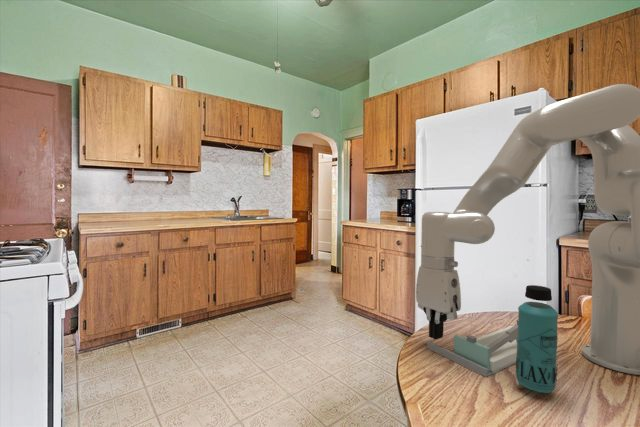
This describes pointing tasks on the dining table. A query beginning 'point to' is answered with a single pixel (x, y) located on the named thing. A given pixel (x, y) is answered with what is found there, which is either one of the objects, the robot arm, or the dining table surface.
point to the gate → (472, 350)
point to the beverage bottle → (537, 341)
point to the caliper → (504, 338)
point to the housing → (497, 359)
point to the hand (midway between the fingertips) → (436, 337)
